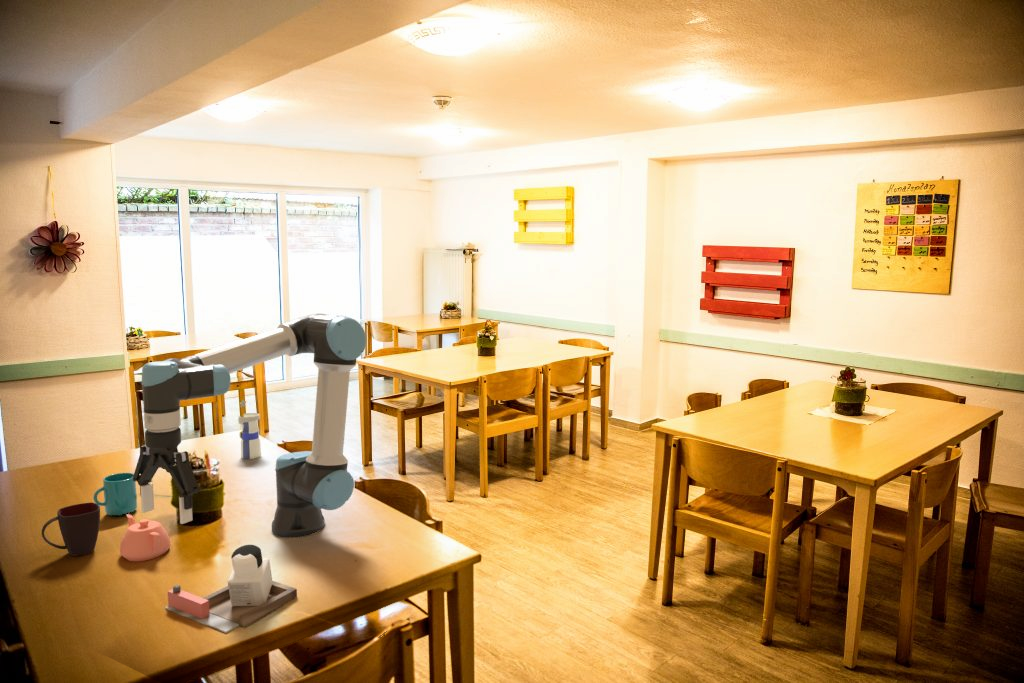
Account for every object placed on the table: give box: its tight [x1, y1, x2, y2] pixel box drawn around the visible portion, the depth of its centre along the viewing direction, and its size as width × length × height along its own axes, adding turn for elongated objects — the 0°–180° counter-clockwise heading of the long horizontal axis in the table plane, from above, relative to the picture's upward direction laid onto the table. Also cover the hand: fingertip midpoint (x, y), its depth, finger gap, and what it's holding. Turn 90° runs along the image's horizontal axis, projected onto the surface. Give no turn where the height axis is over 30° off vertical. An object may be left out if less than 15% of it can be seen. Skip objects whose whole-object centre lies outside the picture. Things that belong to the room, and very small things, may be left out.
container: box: [227, 544, 274, 606], centre depth 167 cm, size 8×8×13 cm
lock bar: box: [167, 584, 210, 619], centre depth 164 cm, size 12×2×5 cm, turn 61°
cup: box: [92, 472, 138, 516], centre depth 224 cm, size 9×12×11 cm
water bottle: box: [237, 399, 262, 460], centre depth 274 cm, size 8×9×25 cm
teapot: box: [119, 513, 171, 563], centre depth 195 cm, size 12×18×10 cm
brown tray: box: [164, 580, 298, 634], centre depth 168 cm, size 23×19×2 cm
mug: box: [41, 502, 101, 557], centre depth 194 cm, size 10×14×12 cm
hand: (166, 516), depth 166 cm, fingers open, 13 cm apart
